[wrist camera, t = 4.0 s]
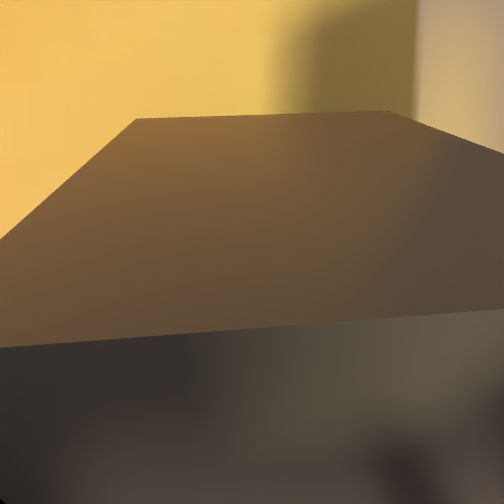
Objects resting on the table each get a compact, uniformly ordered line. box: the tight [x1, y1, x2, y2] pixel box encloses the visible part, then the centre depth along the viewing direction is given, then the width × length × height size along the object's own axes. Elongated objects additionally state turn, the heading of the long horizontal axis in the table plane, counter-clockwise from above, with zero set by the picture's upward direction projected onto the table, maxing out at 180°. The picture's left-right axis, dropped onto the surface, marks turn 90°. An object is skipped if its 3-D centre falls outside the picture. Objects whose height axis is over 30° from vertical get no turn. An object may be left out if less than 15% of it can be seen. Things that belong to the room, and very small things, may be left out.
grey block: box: [0, 111, 504, 504], centre depth 8 cm, size 8×8×9 cm
